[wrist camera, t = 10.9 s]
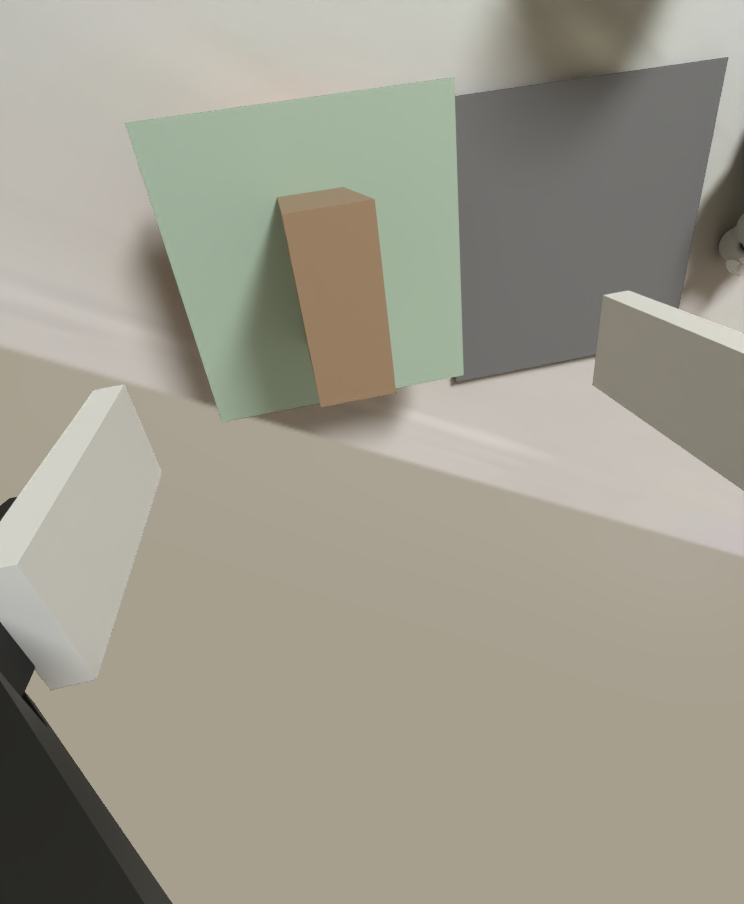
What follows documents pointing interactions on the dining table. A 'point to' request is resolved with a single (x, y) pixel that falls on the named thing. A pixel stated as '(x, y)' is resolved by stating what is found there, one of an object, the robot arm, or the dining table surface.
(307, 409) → the dining table surface
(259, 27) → the dining table surface
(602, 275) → the mat
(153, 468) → the robot arm
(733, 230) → the round bodied animal figurine
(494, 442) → the dining table surface
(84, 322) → the dining table surface
